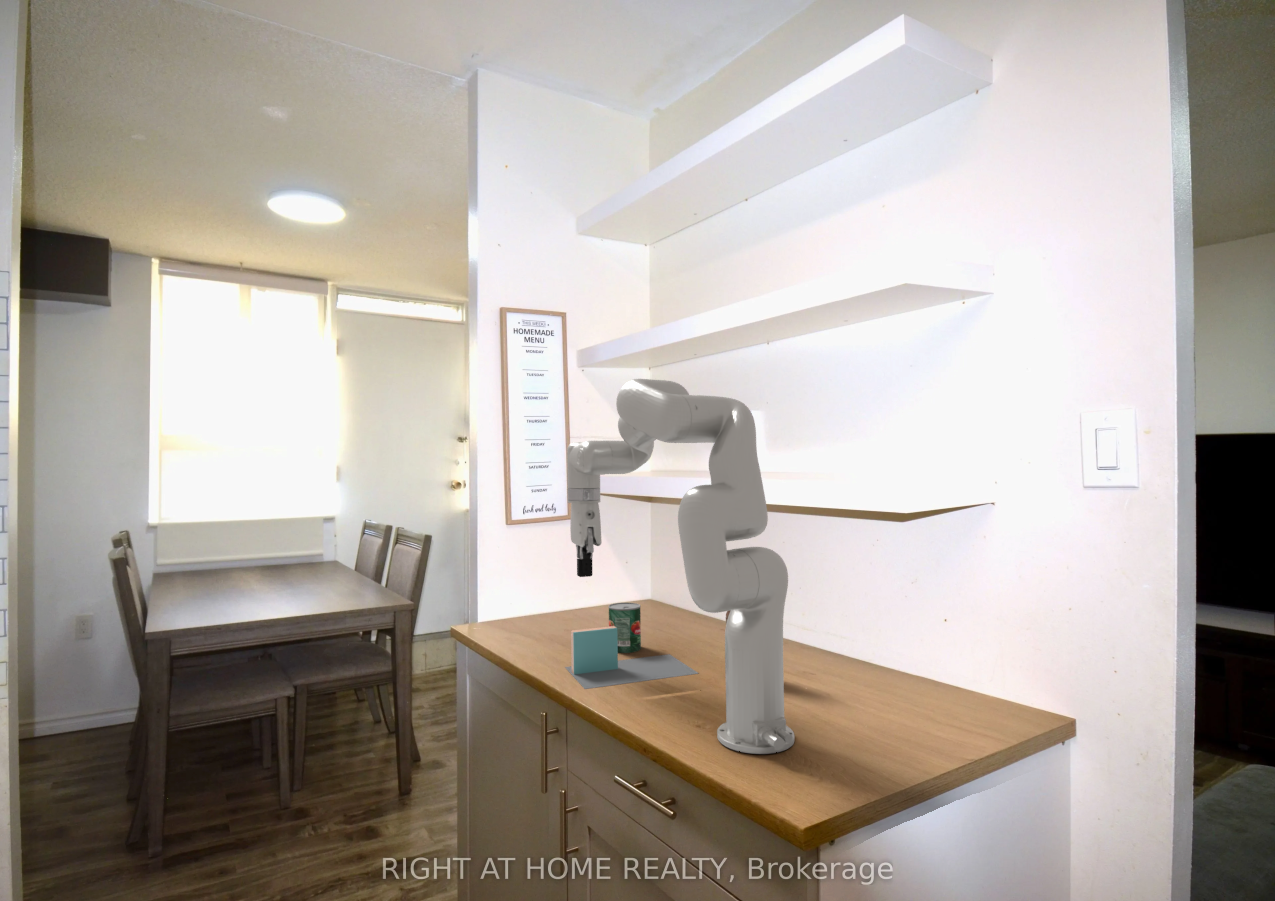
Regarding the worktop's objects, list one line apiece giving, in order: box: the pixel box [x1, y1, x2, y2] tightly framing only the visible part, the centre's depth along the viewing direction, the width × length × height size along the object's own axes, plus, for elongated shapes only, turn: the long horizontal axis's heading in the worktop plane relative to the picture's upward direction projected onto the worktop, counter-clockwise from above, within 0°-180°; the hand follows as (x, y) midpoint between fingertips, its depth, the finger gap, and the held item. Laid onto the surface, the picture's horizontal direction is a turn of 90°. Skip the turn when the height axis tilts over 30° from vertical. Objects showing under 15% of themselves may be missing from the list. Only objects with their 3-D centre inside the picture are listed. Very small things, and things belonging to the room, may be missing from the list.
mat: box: [564, 653, 700, 690], centre depth 150 cm, size 16×26×1 cm, turn 111°
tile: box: [570, 626, 619, 674], centre depth 151 cm, size 2×10×9 cm, turn 110°
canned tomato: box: [607, 602, 642, 654], centre depth 168 cm, size 8×8×11 cm
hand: (584, 575), depth 157 cm, fingers closed
